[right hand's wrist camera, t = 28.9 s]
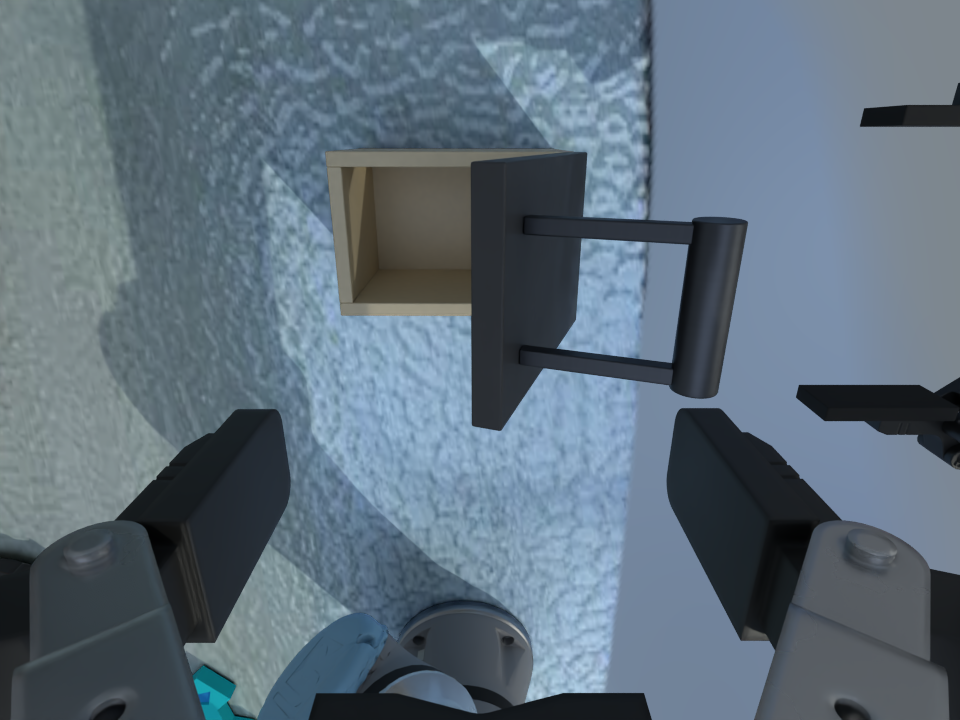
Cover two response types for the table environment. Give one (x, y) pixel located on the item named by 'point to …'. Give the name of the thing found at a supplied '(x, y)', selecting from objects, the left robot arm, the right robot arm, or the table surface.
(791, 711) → the right robot arm
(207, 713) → the decorative ornament
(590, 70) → the table surface
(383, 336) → the table surface
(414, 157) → the chest
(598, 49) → the table surface
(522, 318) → the lid
